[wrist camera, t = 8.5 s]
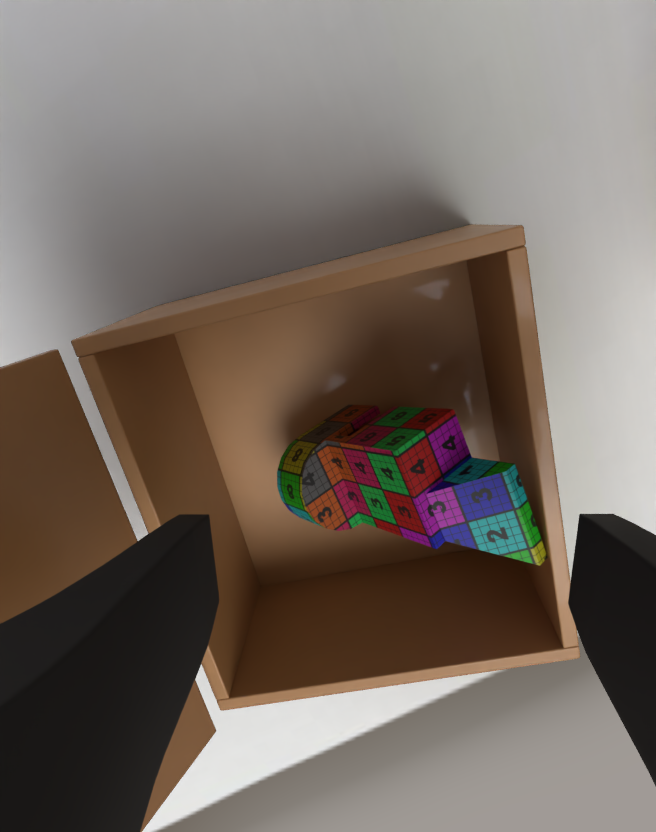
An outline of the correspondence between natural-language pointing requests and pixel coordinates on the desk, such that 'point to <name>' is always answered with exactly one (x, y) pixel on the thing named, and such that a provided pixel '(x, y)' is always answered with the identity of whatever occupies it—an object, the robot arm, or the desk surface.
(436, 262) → the carton
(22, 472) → the flap
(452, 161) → the desk surface
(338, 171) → the desk surface
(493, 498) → the block
